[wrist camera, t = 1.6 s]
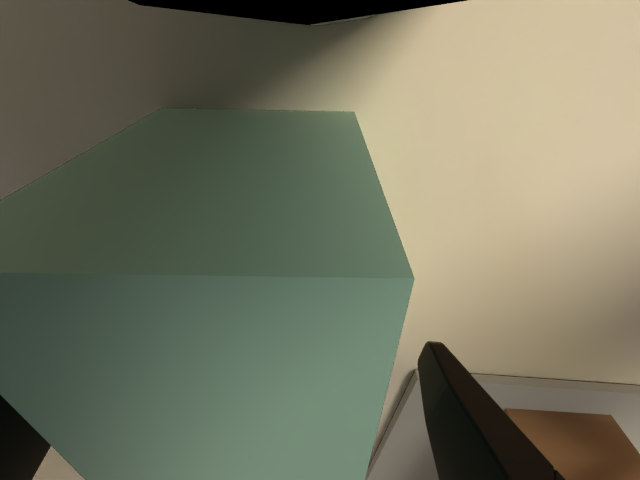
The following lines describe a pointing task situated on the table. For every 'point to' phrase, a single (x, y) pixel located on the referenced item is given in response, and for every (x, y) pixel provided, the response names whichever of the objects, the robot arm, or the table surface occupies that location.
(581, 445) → the post
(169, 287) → the lintel
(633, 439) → the build mat
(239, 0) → the speckled grey cylinder
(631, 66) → the table surface
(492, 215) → the table surface
